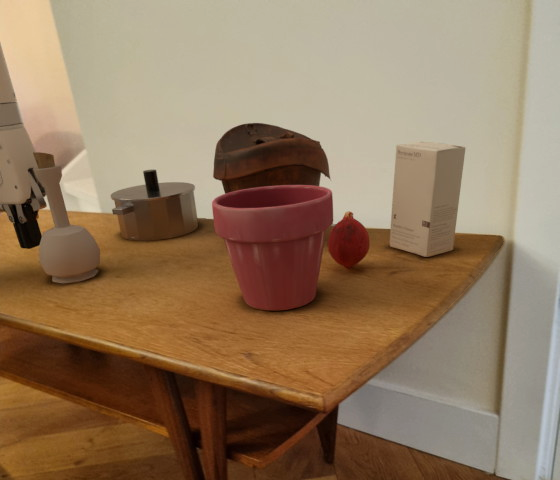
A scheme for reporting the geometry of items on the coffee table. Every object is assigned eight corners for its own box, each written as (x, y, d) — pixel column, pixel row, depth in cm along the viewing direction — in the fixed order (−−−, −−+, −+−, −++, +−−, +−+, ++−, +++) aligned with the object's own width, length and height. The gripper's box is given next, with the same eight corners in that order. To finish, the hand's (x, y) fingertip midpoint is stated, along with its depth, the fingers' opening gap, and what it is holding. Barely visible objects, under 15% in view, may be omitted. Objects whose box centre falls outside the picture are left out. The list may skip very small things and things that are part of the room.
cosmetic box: (388, 247, 86) (391, 145, 79) (416, 239, 88) (421, 139, 81) (429, 259, 79) (435, 148, 72) (457, 250, 82) (467, 142, 75)
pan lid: (93, 203, 101) (87, 177, 99) (150, 187, 113) (145, 163, 111) (159, 207, 94) (154, 179, 92) (211, 188, 106) (208, 163, 104)
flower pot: (262, 274, 79) (254, 181, 73) (353, 285, 72) (352, 184, 66) (202, 310, 68) (186, 205, 62) (301, 327, 62) (294, 211, 56)
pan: (95, 241, 102) (85, 203, 99) (164, 216, 117) (158, 181, 114) (155, 247, 96) (147, 206, 92) (220, 219, 111) (216, 183, 107)
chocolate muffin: (304, 259, 83) (297, 131, 75) (199, 249, 93) (182, 133, 84) (351, 229, 97) (350, 117, 88) (255, 223, 106) (245, 121, 97)
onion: (368, 275, 75) (369, 216, 71) (326, 276, 76) (324, 217, 72) (370, 262, 80) (370, 206, 76) (330, 262, 81) (329, 207, 77)
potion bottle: (32, 283, 83) (-6, 156, 74) (72, 265, 90) (41, 147, 81) (79, 287, 80) (44, 155, 71) (116, 267, 87) (89, 145, 78)
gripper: (-63, 124, 79) (-18, 250, 88) (4, 120, 72) (45, 256, 81) (-17, 118, 84) (21, 237, 93) (50, 113, 78) (83, 242, 86)
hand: (32, 246), depth 87 cm, fingers closed
